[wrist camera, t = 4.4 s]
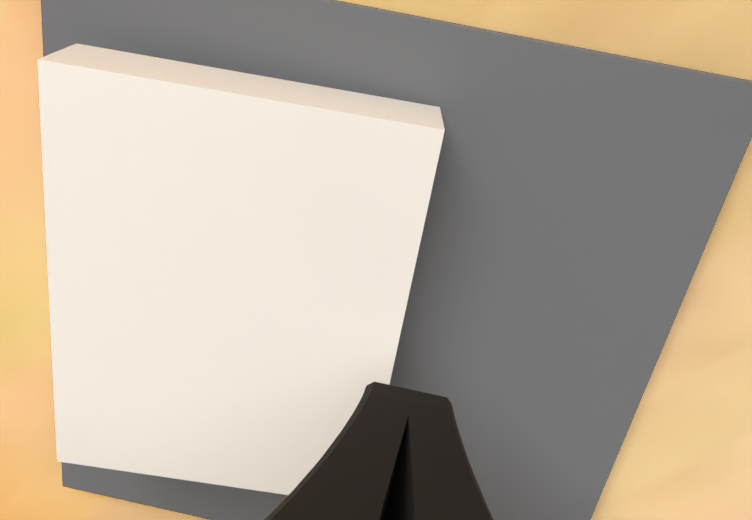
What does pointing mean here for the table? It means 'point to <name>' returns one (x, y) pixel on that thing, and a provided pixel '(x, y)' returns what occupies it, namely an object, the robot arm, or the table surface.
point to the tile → (222, 261)
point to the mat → (489, 223)
